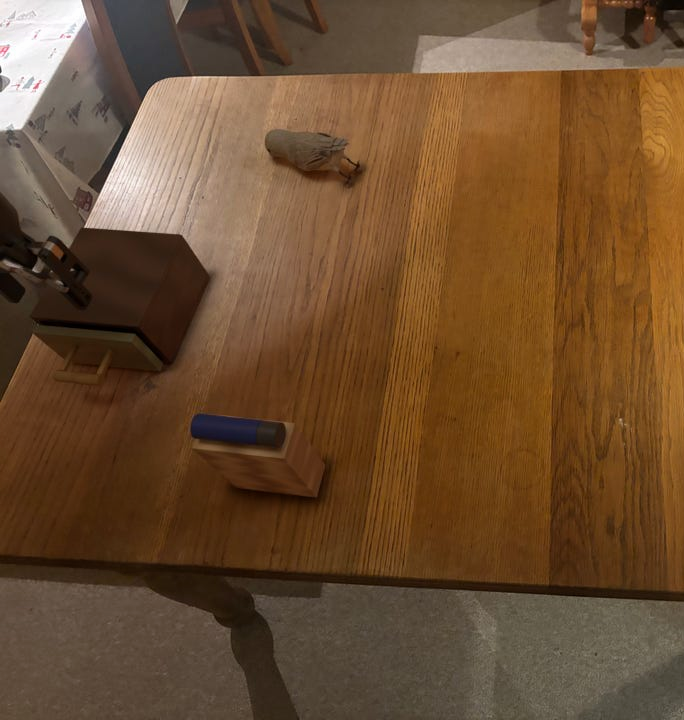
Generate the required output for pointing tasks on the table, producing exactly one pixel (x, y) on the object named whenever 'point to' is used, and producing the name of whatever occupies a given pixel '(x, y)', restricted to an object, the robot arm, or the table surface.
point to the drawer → (96, 350)
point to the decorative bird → (308, 150)
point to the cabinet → (133, 286)
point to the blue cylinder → (238, 430)
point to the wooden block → (267, 464)
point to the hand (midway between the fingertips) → (52, 300)
